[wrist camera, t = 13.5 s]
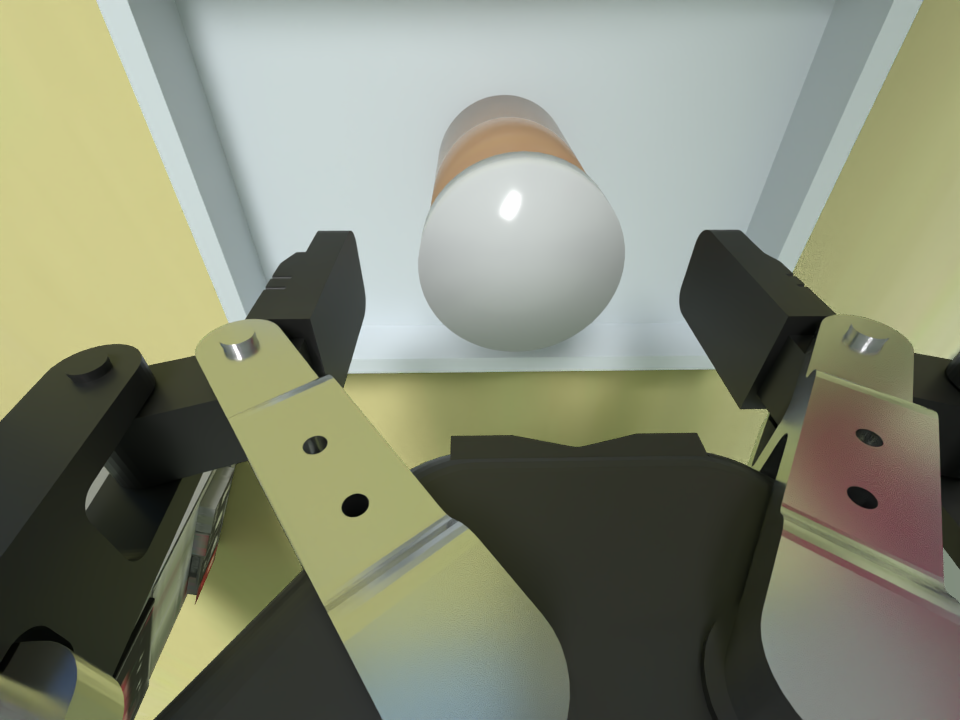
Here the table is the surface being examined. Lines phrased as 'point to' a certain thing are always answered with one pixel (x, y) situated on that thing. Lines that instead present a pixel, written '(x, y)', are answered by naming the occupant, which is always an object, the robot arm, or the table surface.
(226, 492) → the cassette tape recorder
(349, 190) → the tray
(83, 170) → the table surface
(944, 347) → the table surface
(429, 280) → the shaker
